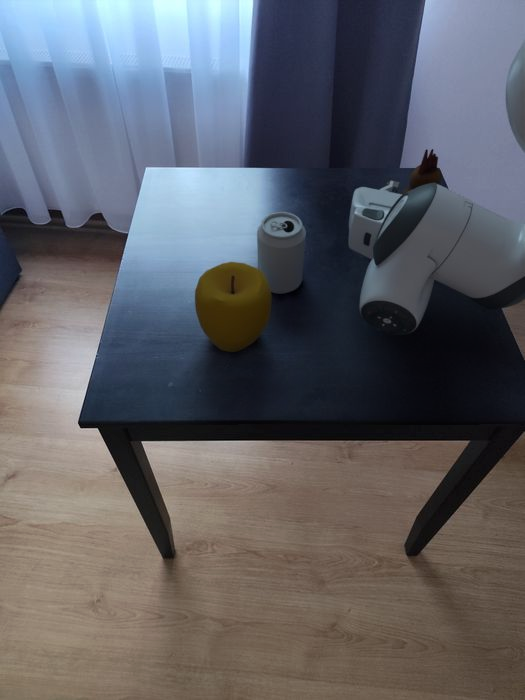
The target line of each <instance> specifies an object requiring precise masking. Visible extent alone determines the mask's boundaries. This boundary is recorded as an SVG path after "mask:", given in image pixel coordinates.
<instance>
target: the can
mask: <svg viewBox="0 0 525 700" xmlns="http://www.w3.org/2000/svg"><path fill="white" fill-rule="evenodd" d="M256 234H257V235H256V237H257V238H256V241H257V243H256V244H257V248H256V249H257V268H258V269H259V270H260V271H261V272H262V273H264V275H265V277H266V279H267V282H268V284H269V286H270V290H271V293H273V294H279V295H281V294H282V295H283V294H287V293H290V292H293V291H295V290H296V289H298V288H299V287H300V285H301V284H302V283H303V282H302V281H303V278H304V277H303V276H304V262H305V249H306V236H307V231H306V228H305V226H304V225H303V222H302V219H300V217H298V216H297V215H295V214H294V213H292V212H291V213H290V212H288V211H287V212H286V211H276V212H272V213H269V214H268V215H266V216H264V217H263V219H262V220H261V223H260V225H259V226H258V228H257V230H256Z"/></svg>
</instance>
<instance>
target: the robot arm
mask: <svg viewBox="0 0 525 700" xmlns="http://www.w3.org/2000/svg"><path fill="white" fill-rule="evenodd" d="M507 72H508V73H507V77H506V85H505V109H506V114H507V120H508V123H509V126H510V130H511V133H512V134H513V136H514V138H515V141H516V142H517V144H518V146H519V147H520V149H521V151H522V152H523V153H524V154H525V39H523V41H522V43H521V44H520V47H519V49H518V50H517V51H516V53H515V56H514V57H513V59H512V61H511V63H510V66H509V69H508V71H507ZM389 182H390V184H389V185H388V186H386V185H385V186H384V187H382V188H379V189H376V188H371V187H366V186H360V187H358V188H355V190H354V192H353V195H352V199H351V206H350V211H349V218H348V230H349V231H348V240H347V241H348V248H349V249H350V250H352V251H354V252H356V253H358V254H360V255H362V256H364V257H366V258H368V259H369V260H370V262H369V264H368V265H367V268H366V272H365V275H364V277H363V282H362V284H361V289H360V294H359V295H360V297H359V305H358V306H359V314H360V316H361V318H362V319H363V321H364V323H366V324H368V325H369V326H371V327H372V328H374V329H375V330H378V331H380V332H383V333H386V334H388V335H394V336H395V335H396V336H404V335H408V334H411V333H413V332H414V331H416V329H418V327H419V325H420V323H421V321H422V319H423V318H424V315H425V313H426V310H427V307H428V305H429V301H430V299H431V295H432V292H433V288H434V284H435V281H436V282H437V283H440V284H442V285H444V286H446V287H448V288H450V289H453V290H454V291H457V292H458V293H460V294H463V296H465V297H466V298H467V299H469V300H471V301H473V302H475V304H478V305H480V306H481V307H483V308H485V309H486V310H489V311H496V310H501V309H505V308H509V307H513V306H515V305H518V304H520V303H522V302H524V301H525V222H521V221H517V220H514V219H513V220H512V219H510V218H507V217H505V216H503V215H501V214H499V213H497V212H495V211H493V210H491V209H489V208H487V207H485V206H483V205H481V204H478V203H476V202H474V201H473V200H472V199H470V198H468V197H466V196H464V195H462V194H461V193H457V192H456V191H453V190H452V189H450V188H447V187H445V186H443V185H440V184H439V185H438V184H436V183H429V184H425V185H422V186H419V187H417V188H414V189H412V190H410V191H408V192H406V193H404V194H403V195H402V194H401V193H398V192H399V189H400V188H399V187H400V184H401V182H399V181H396V180H390V181H389Z"/></svg>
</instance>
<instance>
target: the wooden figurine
mask: <svg viewBox="0 0 525 700" xmlns="http://www.w3.org/2000/svg"><path fill="white" fill-rule="evenodd" d="M428 151H429V149H427V148H426V149H425V151H424V154H423V156H422V160H421V163H420V164H419V165H417V166H416V167H415V168H414V169H413V170H412V172H411V173H410V176H409V180H408V181H409V186H407V187H406V188H404V189H403V190H402V192H401V193H400V194H402V195H403V194H404V193H406V192H408V191H410V190H412V189H414V188H417V187H419V186H422V185H425V184H429V183H436V184H438V185H440V184H441V181H442V171H441V170H440V169H439V167H438V162H439V156H437V154H436V153H434V149H433V148H432V149H431V150H430V152H428ZM428 153H429V154H428Z"/></svg>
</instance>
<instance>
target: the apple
mask: <svg viewBox="0 0 525 700" xmlns="http://www.w3.org/2000/svg"><path fill="white" fill-rule="evenodd" d="M194 307H195V314H196V317H197V320H198V322H199V325H200V328H201V329H202V331H203V333H204V334H205V336H206V337H207V338H208V339H209V341H210V342H211V343H212V344H213V345H214V346H215V347H217V348H218V349H219V350H221V351H223V352H228V353H236V352H237V353H238V352H239V351H242V350H244V349H246V348H247V347H249V346H251V345H252V344H254V342H256V340H257V339H258V338H259V337H260V336H261V335H262V333H263V332H264V330H265V329H266V327H267V325H268V323H269V320H270V316H271V313H272V312H271V310H272V292H271V290H270V286H269V284H268V282H267V279H266V277H265V275H264V273H262V272H261V271H260V270H259V269H258V267H255V266H252V265H250V264H247V263H244V262H238V261H228V262H222V263H220V264H218V265H215V266H214V267H211V268H209V269H207V270H206V271H204V272H203V273H202V275H200V277H199V278H198V282H197V284H196V287H195V290H194Z"/></svg>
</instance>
